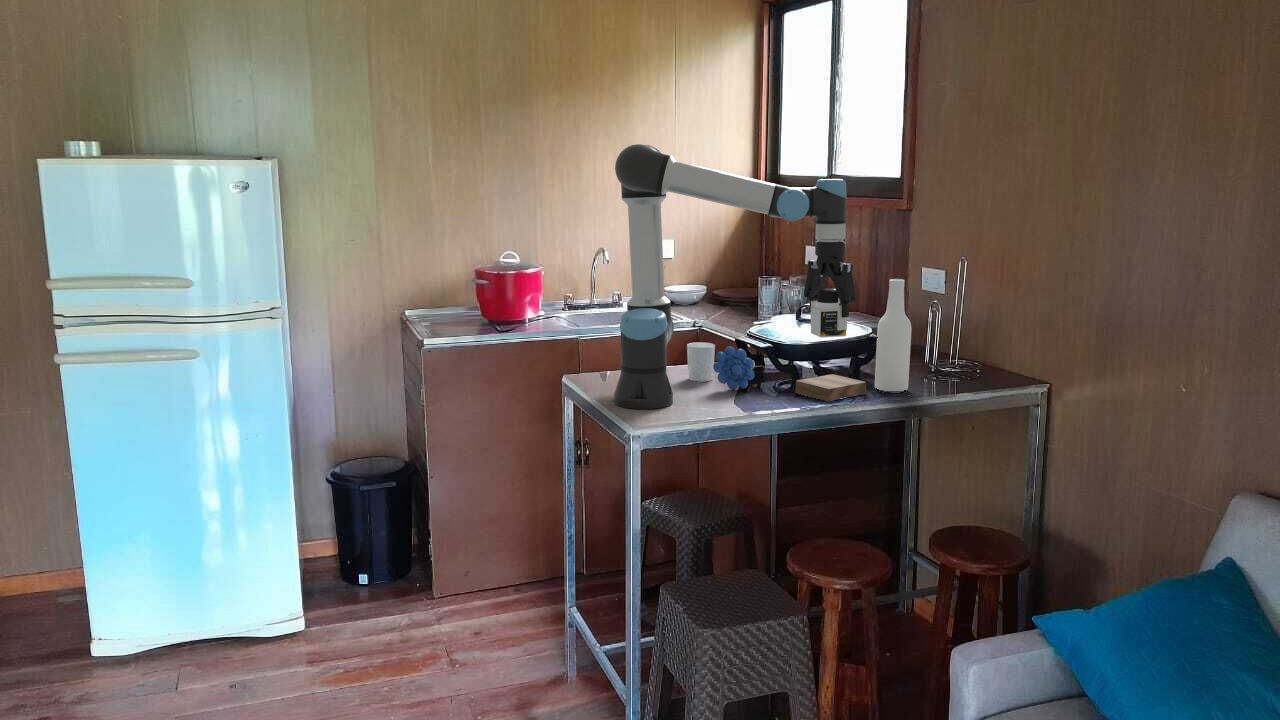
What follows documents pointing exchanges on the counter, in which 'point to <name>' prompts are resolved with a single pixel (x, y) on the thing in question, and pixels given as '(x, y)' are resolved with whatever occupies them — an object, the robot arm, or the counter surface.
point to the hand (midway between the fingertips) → (828, 327)
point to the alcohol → (893, 342)
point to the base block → (830, 387)
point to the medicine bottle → (826, 314)
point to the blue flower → (734, 368)
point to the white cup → (700, 361)
